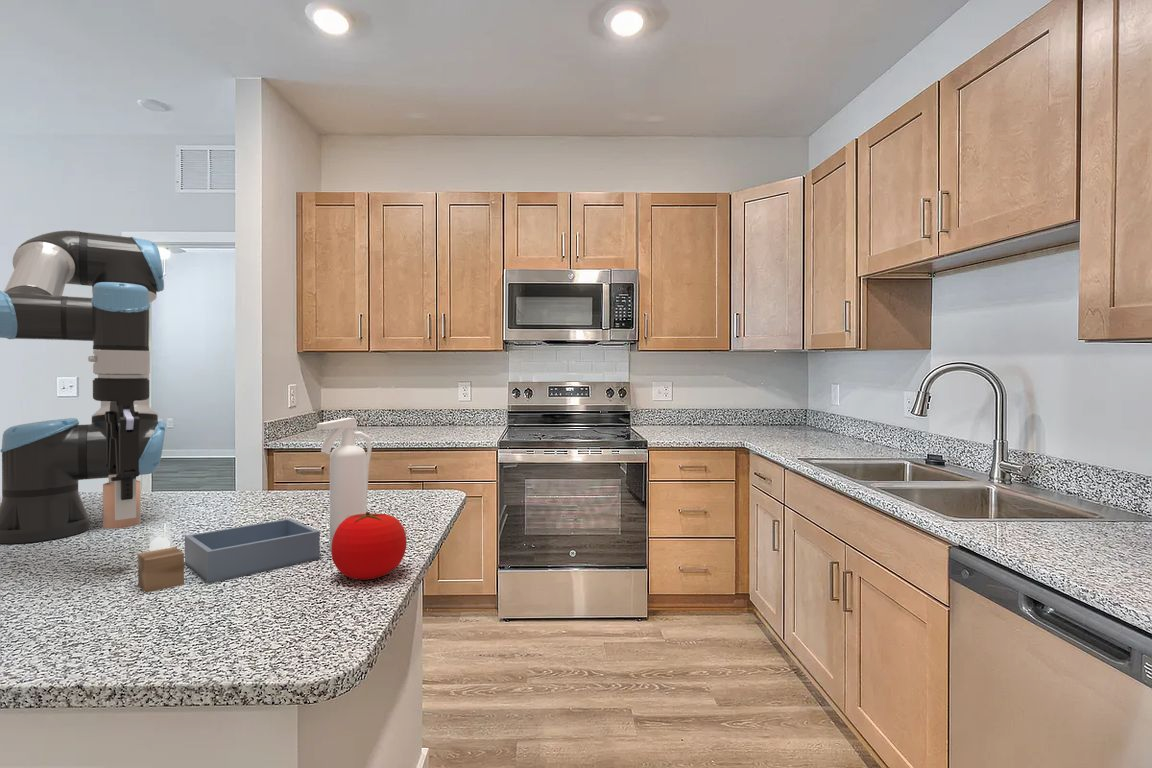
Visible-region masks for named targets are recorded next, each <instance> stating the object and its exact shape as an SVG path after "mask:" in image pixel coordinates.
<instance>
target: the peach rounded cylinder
mask: <svg viewBox="0 0 1152 768" xmlns="http://www.w3.org/2000/svg"><path fill="white" fill-rule="evenodd" d="M141 484H142V483H141V480H137V479H136V518H129V519H122V520H115V481H114V482H109V481H108V482H106V483H103V484H102V527H103V528H104V529H109V530H110V529H112V530H113V529H116V530H117V529H123V528H130V527H135V526H138V525H140V524H141V523H142V522H141V521H142V520H141V515H142V514H141V507H142V505H141V496H142V495H141V490H142V489H141Z"/></svg>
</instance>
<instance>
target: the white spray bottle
mask: <svg viewBox="0 0 1152 768" xmlns="http://www.w3.org/2000/svg"><path fill="white" fill-rule="evenodd" d="M354 428H358V423H357V420H356V418H355V417H346V418H345V417H344V418H339V419H334V420H333V419H332V420H328V421H324V422H318V423H316V430H324V431H325V430H332V431H330V432H329V434H328V435H327V436H326V438H325V439H324V441H323V442H322V446H321V448H320V449H321V450H320V452H321V453H322V454H324V455H329V551H330V552H331V549H332V540H333V536H334V534H335V531H336V529H337V528H338V526H339V525H340V523H342V522H343V521H344V520H345V519H346V518H348V517H350V516H353V515H356V514H365V513H366V512H369V510H368V505H367V504H368V491H369V490H368V488H369V470H370V462H371V461H370V460H371V456H372V450H373V448H372V443H371V436H369V435H368V434H366V433H365V432H362V431H360V430H359V431H355V430H354ZM340 435H341V441H340V445H339V446H337V447H335V448H333V447H332V446H333V445H334V443H335V442H336V441H337V439H338V438H339V436H340ZM356 437H360V438H362V439H363V440H365V441H366V451H367V452H366V451H365V449H364V448H363V447H361V446H359V445H357V444H356ZM332 448H333V449H332ZM331 450H332V451H331Z"/></svg>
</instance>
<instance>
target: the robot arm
mask: <svg viewBox="0 0 1152 768" xmlns="http://www.w3.org/2000/svg"><path fill="white" fill-rule="evenodd" d="M12 266H13V267H12V268H13V269H14V270H13V272H12V274H11V276H10V278H9V280H8V282H7V285H6V287H5V288H4V290H0V339H1V338H2V339H7V340H17V339H18V340H46V341H47V340H48V341H49V340H51V341H53V340H54V341H55V340H56V341H59V340H60V341H82V342H83V341H84V342H85V341H86V342H92V344H93V345H92V350H93V351H92V353H93V355H90V356H87V361H88V362H90V363H93V365H92V373H93V374H94V375H97V377H95V378H94V379H93V380H92V399H93V400H94V401H96V402H97V401H98V402H100V408H99V409H98V410H97V411H95V412H94V413H93V414H92V415H91V424H80V421H79V420H78V419H77V417H76V418H75V417H70V418H59V419H51V420H44V421H43V420H42V421H35V422H30V423H23V424H17V425H13V426H10V427H8V428H6V429H5V430H4V431H3V433H2V439H1V449H0V453H1V475H2V478H1V503H0V544H23V543H35V542H43V541H44V542H45V541H50V540H56V539H62V538H66V537H69V536H75V535H77V534H80V533H83V532H86V531H88V530H89V529H90V517H89V515H88V512H87V510H86V508H85V505H84V503H83V500H82V498H81V496H80V493H79V481H82V480H84V481H85V480H98V479H108V483H109V482H114V481H115V520H122V519H129V518H136V480H137V477H139V476H142V475H151V474H154V473H156V471H158V470H159V468H160V464H161V459H162V454H163V447H164V440H165V435H166V433H165V432H166V423H165V422H164V421H161V420H158V418H159V415H158V413H157V412H156V411H155V410H153V409H152V408H151V406H150V373H151V372H150V371H151V369H150V368H151V363H150V362H151V361H150V360H151V351H150V309H151V303H152V302H154V301H155V300H156V299H157V293H160V292H162V291H164V290H165V281H164V275H163V274H164V271H163V265H162V258H161V253H160V250H159V247H158V245H157V244H156V243H155V242H153V241H152V240H149V239H148V240H147V239H145V238H144V239H142V238H136V237H134V236H129V237H127V236H121V235H113V234H103V233H102V234H101V233H95V232H85V231H79V230H57V231H51V232H46V233H42V234H39V235H37V236H33V237H31V238H30V239H27V240H26V241H24V242H22V243H21V244H20V245H19V246H18V247H17V249H16V251H15V252H14V253H13V257H12ZM66 285H77V286H85V287H86V286H89V287H92V289H91V290H92V291H91V293H92V297H82V296H81V297H80V296H79V297H78V296H66V295H63V294H64V290H65V286H66Z"/></svg>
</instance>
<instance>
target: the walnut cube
mask: <svg viewBox="0 0 1152 768" xmlns="http://www.w3.org/2000/svg"><path fill="white" fill-rule="evenodd" d="M137 556H138V557H137V561H138V563H137V565H138V566H137V567H138V568H137V571H138V573H137V578H138V579H137V582H138V583H137V584H139V585H138V586H139V588H140V589H142V591H143V590H144V591H145V592H147V593H151V592H154V591H155V592H157V591H160V590H164V589H168V588H174V587H178V586H182V585H185V552H183V551H182V550H181V549H179V548H178V547H177V546H173V547H167V548H161V549H156V550H150V551H144V552H139V553H137ZM144 591H143V592H144ZM150 591H151V592H150ZM145 592H144V593H145Z"/></svg>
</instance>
